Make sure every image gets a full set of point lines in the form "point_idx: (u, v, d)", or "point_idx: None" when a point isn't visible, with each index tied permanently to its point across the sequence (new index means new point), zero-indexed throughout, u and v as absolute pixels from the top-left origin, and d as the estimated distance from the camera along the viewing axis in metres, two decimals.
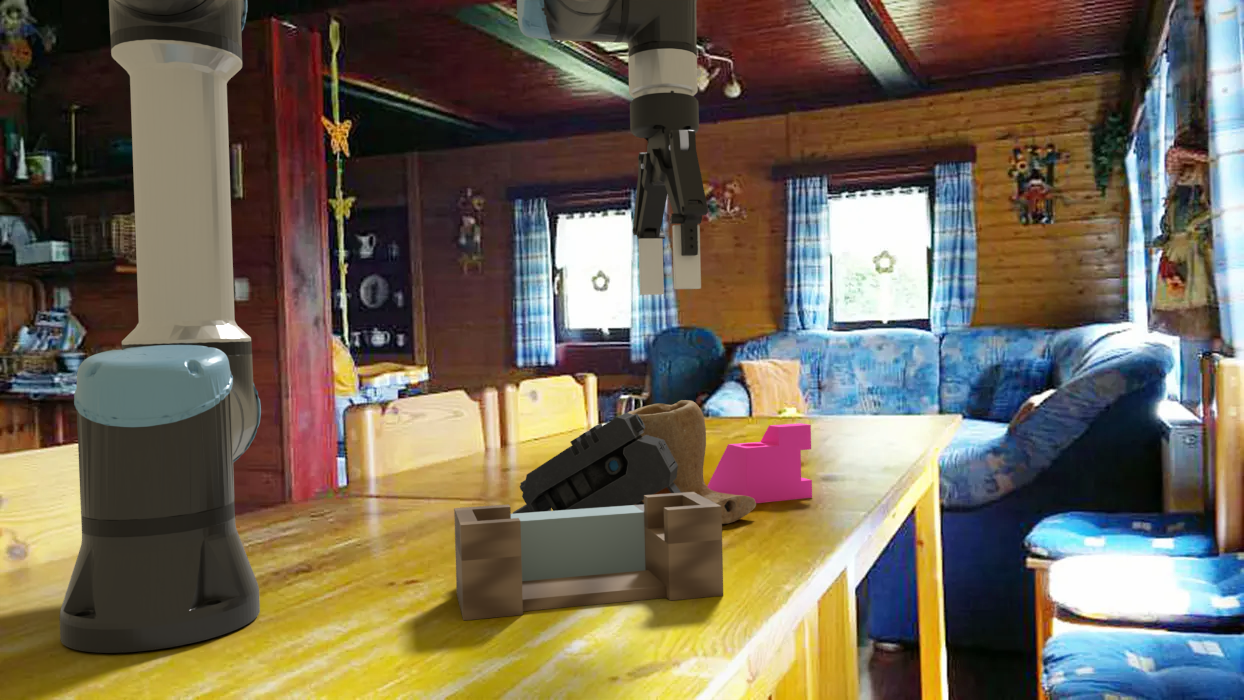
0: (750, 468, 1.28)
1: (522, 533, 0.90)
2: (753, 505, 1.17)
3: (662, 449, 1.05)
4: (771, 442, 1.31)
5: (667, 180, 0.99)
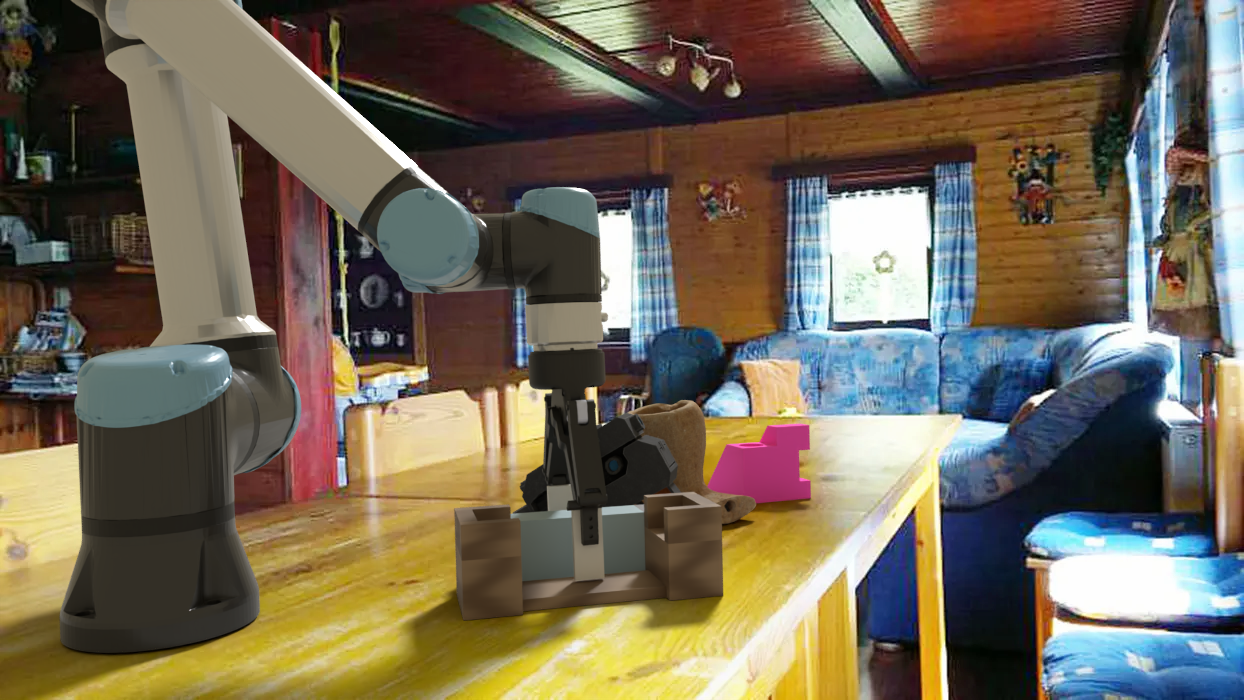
0: (747, 468, 1.28)
1: (522, 533, 0.90)
2: (753, 505, 1.17)
3: (662, 449, 1.05)
4: (769, 442, 1.31)
5: (566, 452, 0.88)
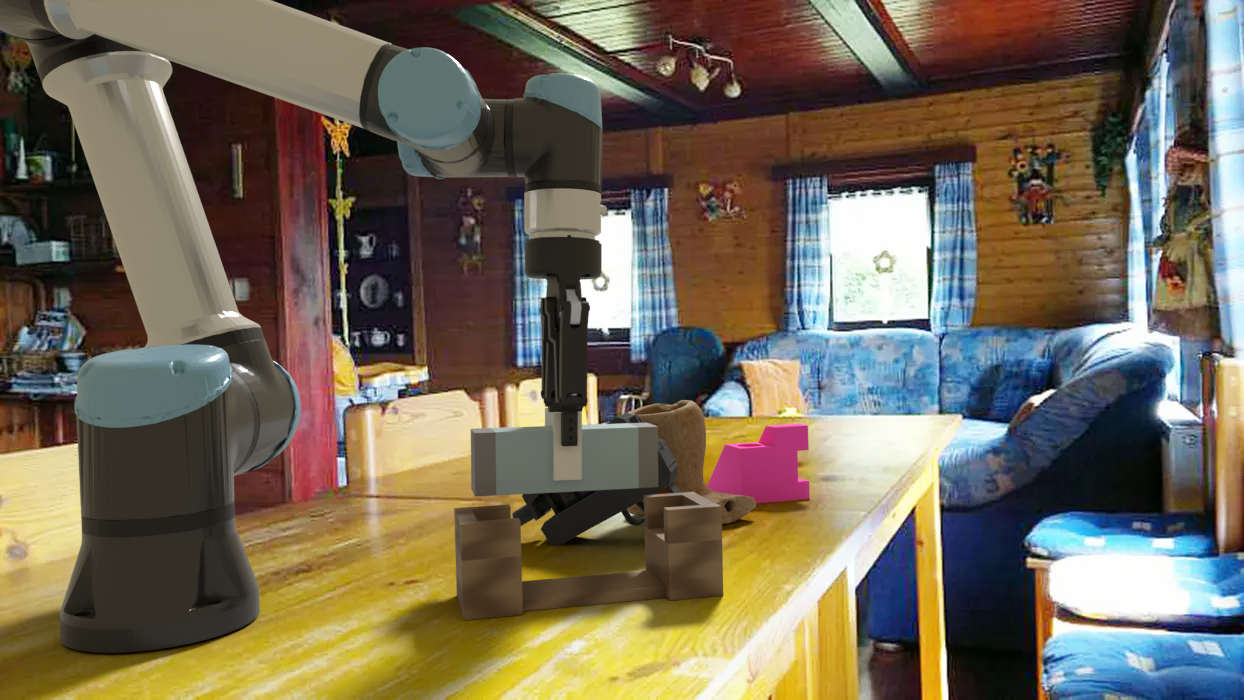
0: (745, 468, 1.28)
1: (516, 444, 0.90)
2: (753, 505, 1.17)
3: (662, 449, 1.05)
4: (768, 442, 1.31)
5: (555, 349, 0.90)
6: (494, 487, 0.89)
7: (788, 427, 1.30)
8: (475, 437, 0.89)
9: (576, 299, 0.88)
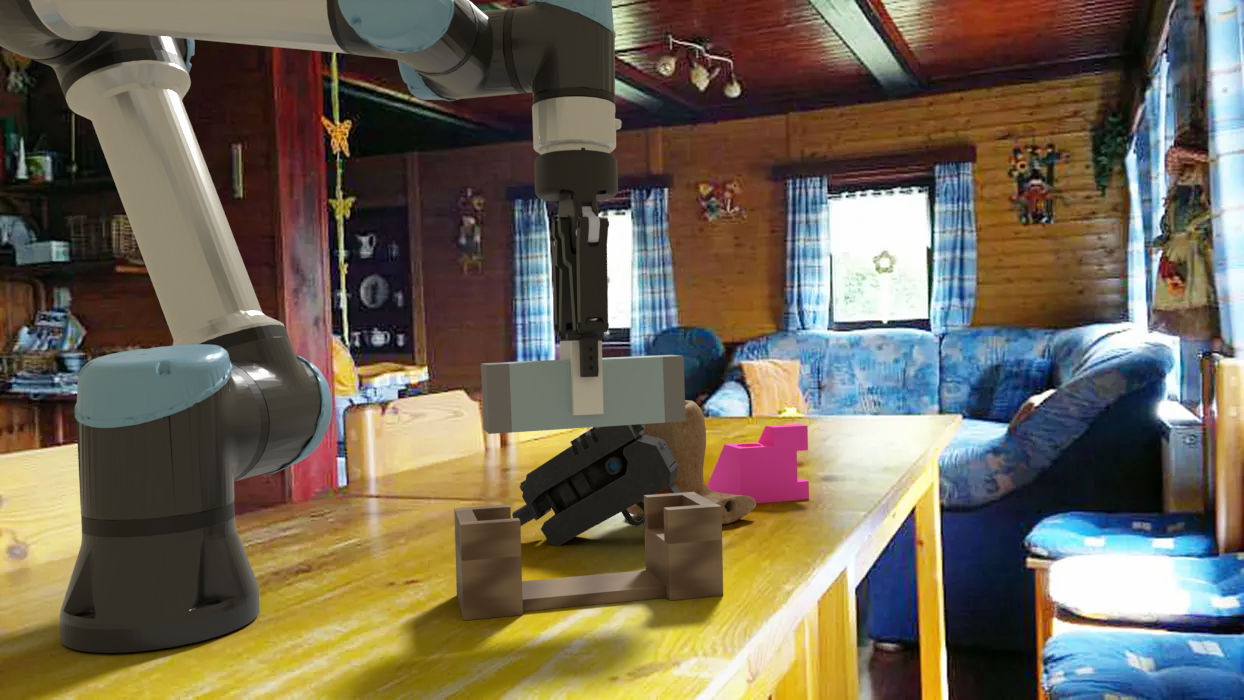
0: (744, 468, 1.28)
1: (532, 376, 0.83)
2: (753, 505, 1.17)
3: (662, 449, 1.05)
4: (767, 442, 1.31)
5: (571, 273, 0.83)
6: (509, 423, 0.82)
7: (787, 427, 1.30)
8: (487, 369, 0.82)
9: (593, 215, 0.81)
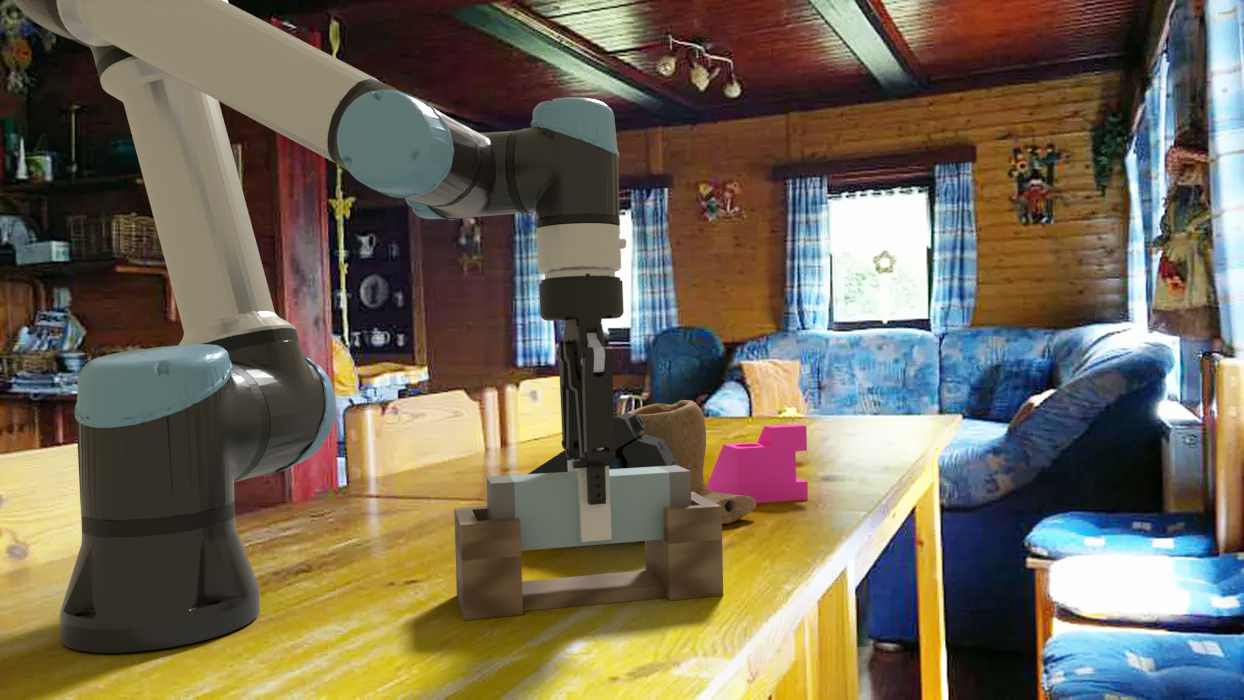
0: (742, 468, 1.28)
1: (537, 494, 0.82)
2: (753, 505, 1.17)
3: (662, 449, 1.05)
4: (766, 443, 1.31)
5: (577, 399, 0.82)
6: None
7: (786, 427, 1.29)
8: (492, 488, 0.81)
9: (598, 344, 0.80)
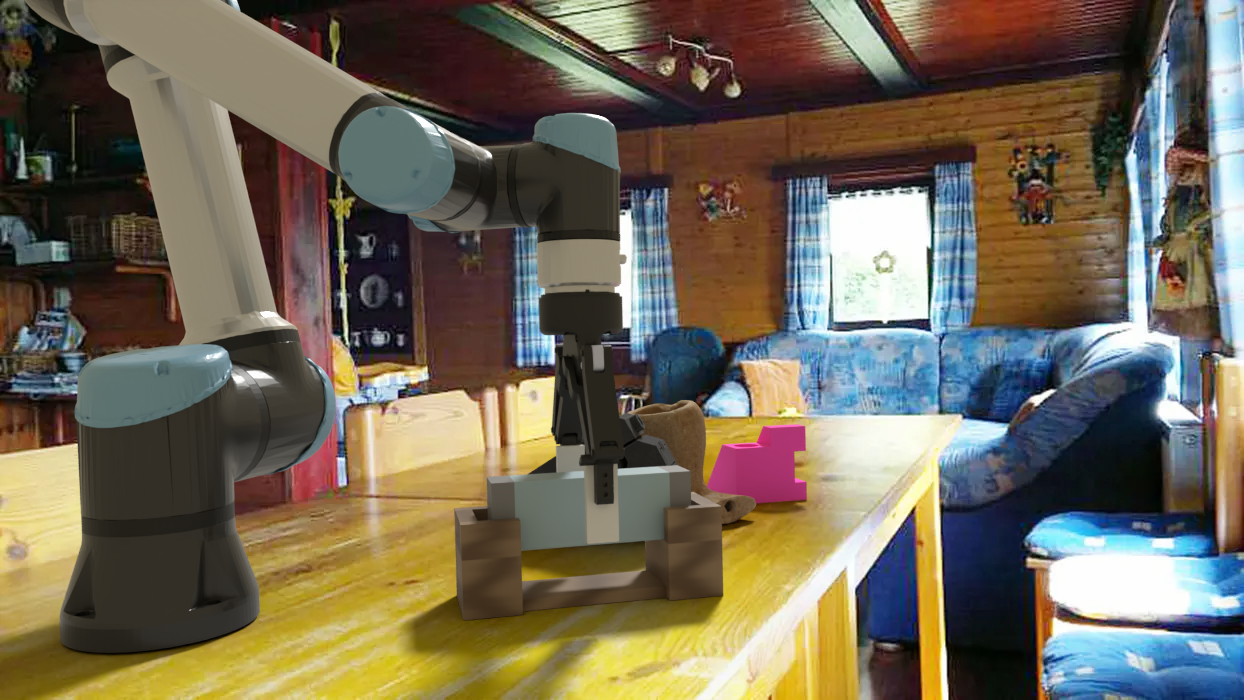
0: (740, 468, 1.28)
1: (537, 494, 0.82)
2: (753, 505, 1.17)
3: (662, 449, 1.05)
4: (765, 443, 1.31)
5: (579, 403, 0.80)
6: None
7: (785, 427, 1.29)
8: (492, 488, 0.81)
9: None
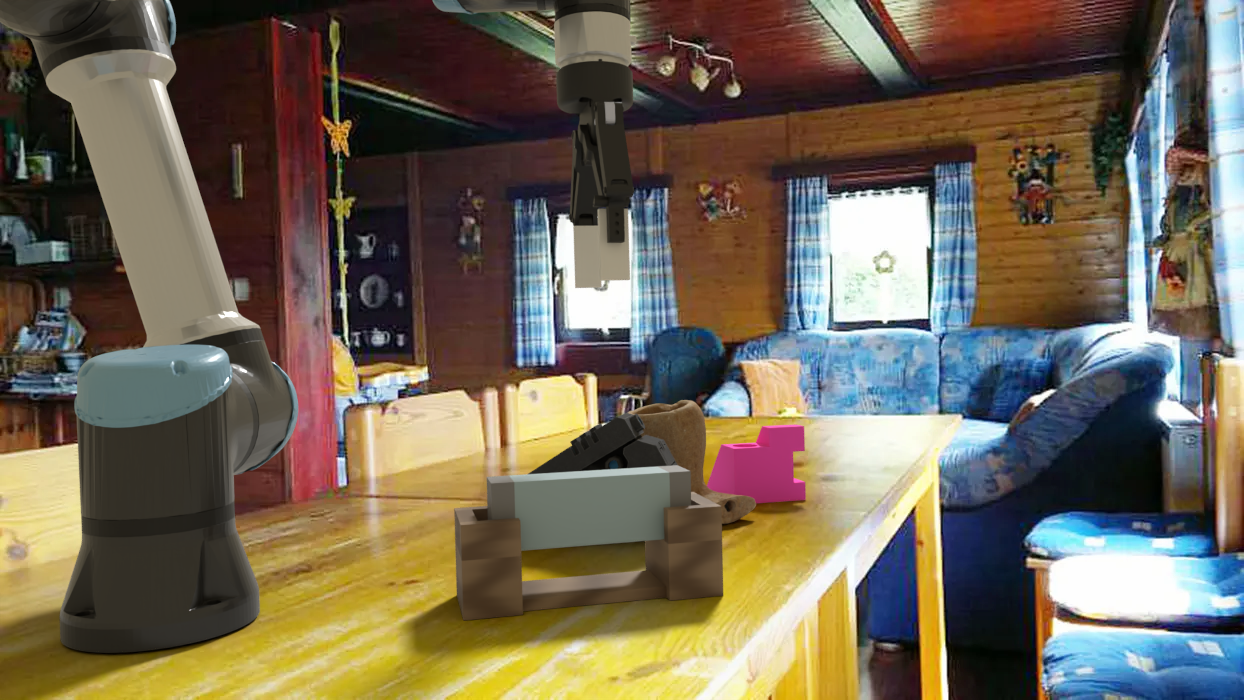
0: (738, 468, 1.28)
1: (537, 494, 0.82)
2: (753, 505, 1.17)
3: (662, 449, 1.05)
4: (764, 443, 1.31)
5: (593, 159, 0.88)
6: None
7: (783, 428, 1.29)
8: (492, 488, 0.81)
9: None
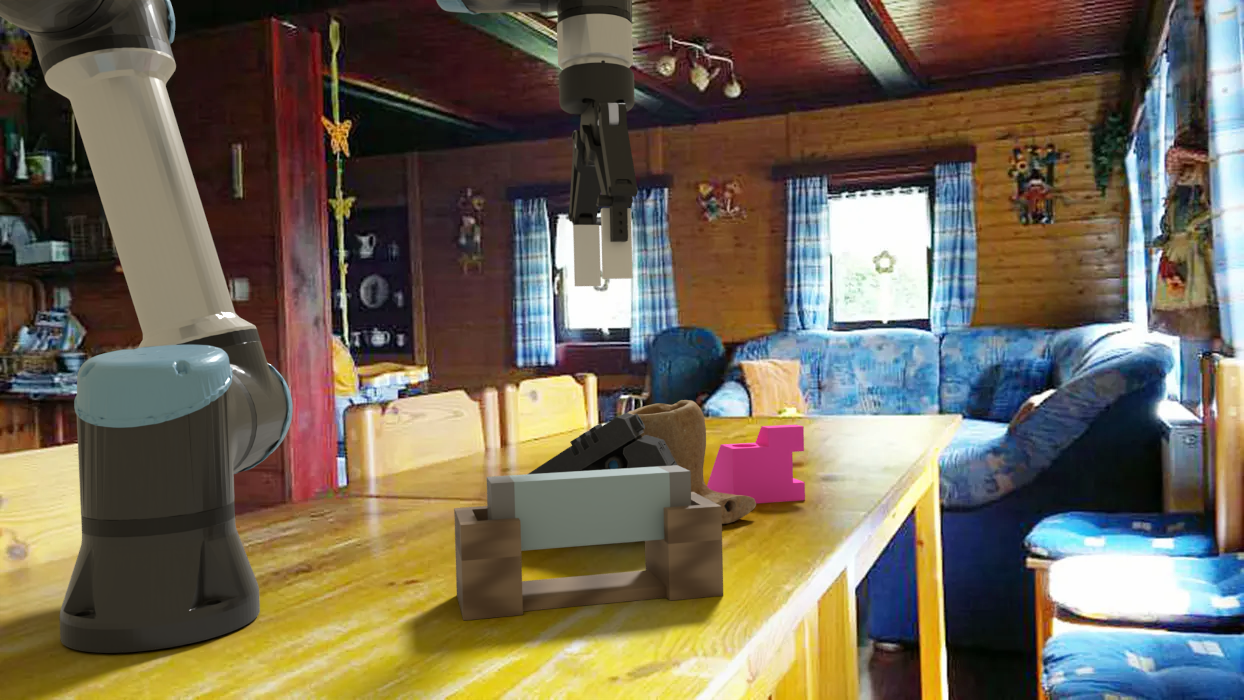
0: (737, 468, 1.28)
1: (537, 494, 0.82)
2: (753, 505, 1.17)
3: (662, 449, 1.05)
4: (763, 443, 1.30)
5: (596, 159, 0.90)
6: None
7: (783, 428, 1.29)
8: (492, 488, 0.81)
9: None
